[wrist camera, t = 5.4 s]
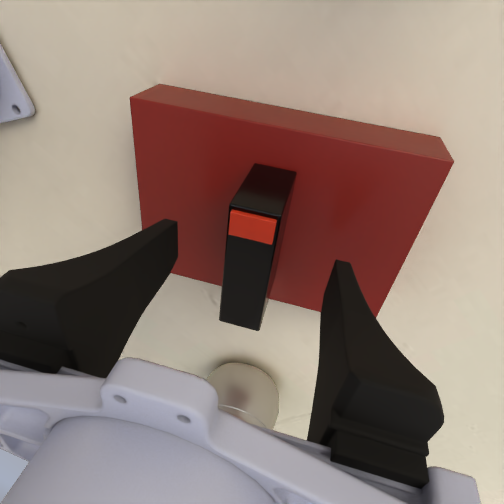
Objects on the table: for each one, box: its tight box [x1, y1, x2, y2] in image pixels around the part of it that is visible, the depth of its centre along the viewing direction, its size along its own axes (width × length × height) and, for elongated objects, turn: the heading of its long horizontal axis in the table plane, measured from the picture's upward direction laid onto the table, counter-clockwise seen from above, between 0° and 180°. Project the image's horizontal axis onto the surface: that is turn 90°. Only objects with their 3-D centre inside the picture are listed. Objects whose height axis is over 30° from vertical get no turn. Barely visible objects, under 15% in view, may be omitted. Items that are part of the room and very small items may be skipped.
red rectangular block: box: [130, 84, 454, 318], centre depth 19 cm, size 14×10×3 cm
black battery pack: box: [219, 163, 297, 331], centre depth 16 cm, size 6×2×4 cm, turn 173°
